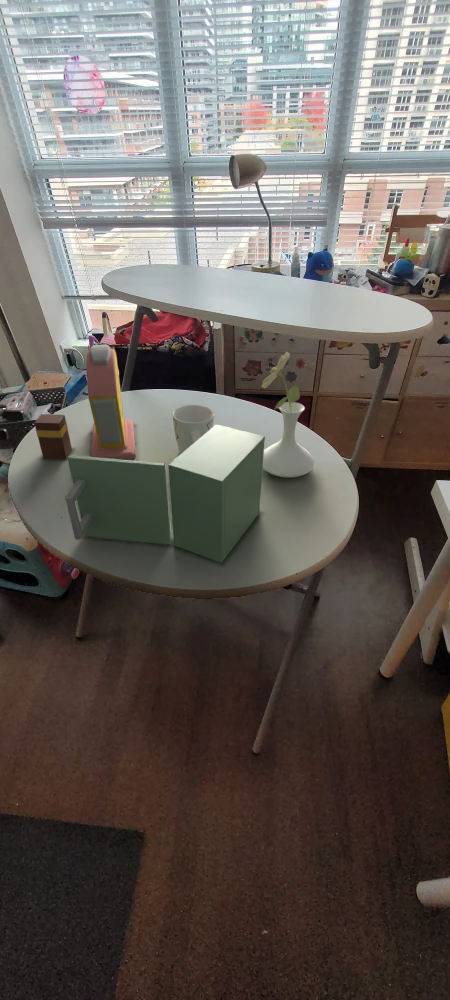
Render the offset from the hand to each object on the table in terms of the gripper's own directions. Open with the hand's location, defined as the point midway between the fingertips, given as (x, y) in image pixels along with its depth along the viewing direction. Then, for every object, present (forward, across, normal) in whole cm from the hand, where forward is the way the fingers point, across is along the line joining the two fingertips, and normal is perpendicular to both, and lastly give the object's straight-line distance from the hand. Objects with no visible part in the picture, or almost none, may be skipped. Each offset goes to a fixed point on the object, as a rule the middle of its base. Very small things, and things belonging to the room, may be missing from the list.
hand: (15, 424), depth 95 cm
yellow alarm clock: (+18, +6, +7) cm, 21 cm away
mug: (+38, -1, +7) cm, 38 cm away
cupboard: (+43, -24, +7) cm, 50 cm away
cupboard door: (+28, -30, +7) cm, 41 cm away
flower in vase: (+56, -4, +7) cm, 57 cm away
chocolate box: (+8, 0, +7) cm, 10 cm away
